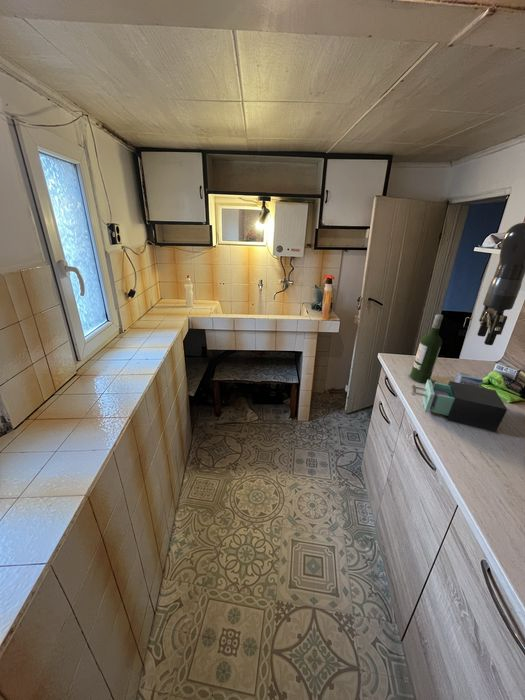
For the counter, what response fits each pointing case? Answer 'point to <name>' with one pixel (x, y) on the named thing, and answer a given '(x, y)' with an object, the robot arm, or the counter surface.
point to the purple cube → (437, 395)
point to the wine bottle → (427, 353)
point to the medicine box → (469, 379)
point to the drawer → (442, 402)
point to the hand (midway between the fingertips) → (484, 340)
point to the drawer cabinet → (476, 407)
